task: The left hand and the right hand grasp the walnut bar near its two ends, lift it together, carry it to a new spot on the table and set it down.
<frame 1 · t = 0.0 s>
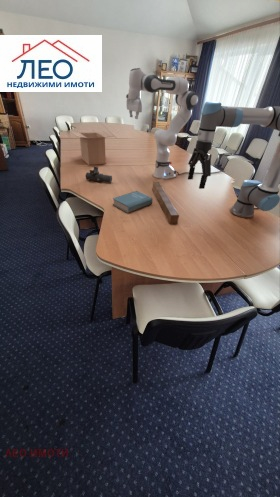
left hand: (133, 118, 170), 48 cm above the table, tool pointing down, fingers open, 8 cm apart
right hand: (195, 183, 118), 28 cm above the table, tool pointing down, fingers open, 13 cm apart
book: (132, 204, 157), on the table
box: (93, 161, 237), on the table
bar: (163, 204, 161), on the table
laser sight: (98, 181, 190), on the table
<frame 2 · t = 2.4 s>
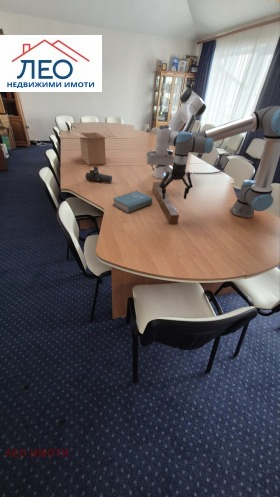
left hand: (158, 170, 168), 17 cm above the table, tool pointing down, fingers open, 8 cm apart
right hand: (174, 198, 136), 14 cm above the table, tool pointing down, fingers open, 13 cm apart
nothing on the table moved.
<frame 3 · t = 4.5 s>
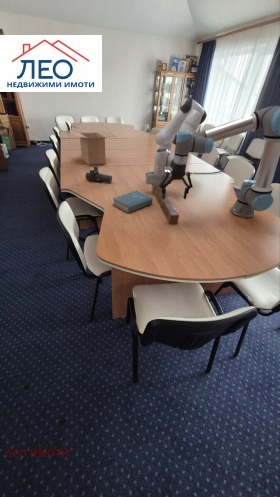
left hand: (157, 189, 176), 3 cm above the table, tool pointing down, fingers closed on bar, 5 cm apart
right hand: (174, 198, 136), 14 cm above the table, tool pointing down, fingers open, 13 cm apart
bar: (163, 204, 161), on the table, touching left hand
everything else where it was.
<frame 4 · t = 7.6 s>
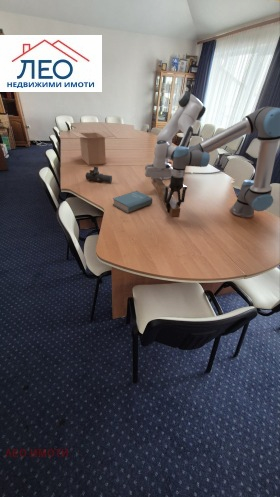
left hand: (157, 182, 173), 8 cm above the table, tool pointing down, fingers closed on bar, 5 cm apart
right hand: (172, 212, 141), 5 cm above the table, tool pointing down, fingers closed on bar, 5 cm apart
bar: (163, 197, 158), point 5 cm above the table, touching left hand, right hand
everything else where it was.
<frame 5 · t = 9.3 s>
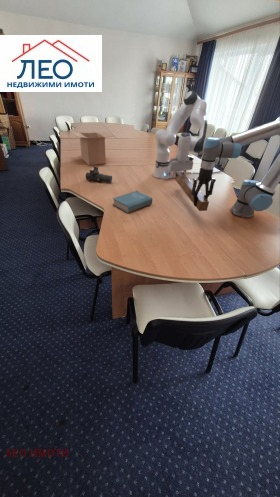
left hand: (179, 176, 171), 14 cm above the table, tool pointing down, fingers closed on bar, 5 cm apart
right hand: (199, 205, 140), 10 cm above the table, tool pointing down, fingers closed on bar, 5 cm apart
bar: (187, 191, 157), point 10 cm above the table, touching left hand, right hand
everything else where it was.
when the right hand's fingers open (1 cm above the table, at t = 11.3 s): bar stays where it is, held by the left hand.
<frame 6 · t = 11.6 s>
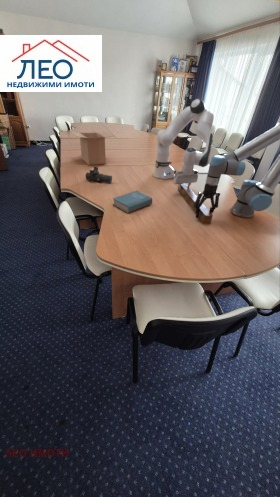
left hand: (183, 188, 177), 4 cm above the table, tool pointing down, fingers closed on bar, 6 cm apart
right hand: (203, 217, 145), 1 cm above the table, tool pointing down, fingers open, 8 cm apart
bar: (191, 204, 163), on the table, touching left hand
everything else where it was.
when the left hand's fingers open (4 cm above the table, at t = 11.6 s): bar stays where it is, on the table.
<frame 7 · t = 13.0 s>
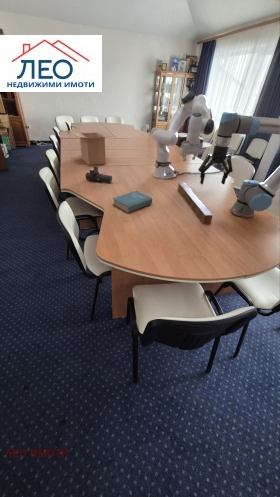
left hand: (188, 160, 164), 26 cm above the table, tool pointing down, fingers open, 8 cm apart
right hand: (212, 183, 132), 24 cm above the table, tool pointing down, fingers open, 13 cm apart
bar: (191, 204, 163), on the table
everything else where it was.
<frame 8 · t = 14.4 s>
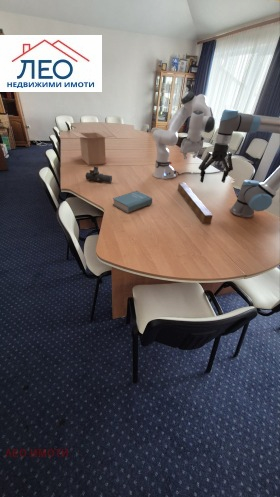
left hand: (189, 158, 164), 27 cm above the table, tool pointing down, fingers open, 8 cm apart
right hand: (212, 182, 131), 25 cm above the table, tool pointing down, fingers open, 13 cm apart
nothing on the table moved.
at the end: bar inside the target area (0.3 cm from its centre), on the table; bar tilted 0°; bar never tilted more than 3° during the clip; both hands held the bar at the same time; the left hand is holding nothing; the right hand is holding nothing; bar at rest at the end (0.0 cm/s) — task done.
